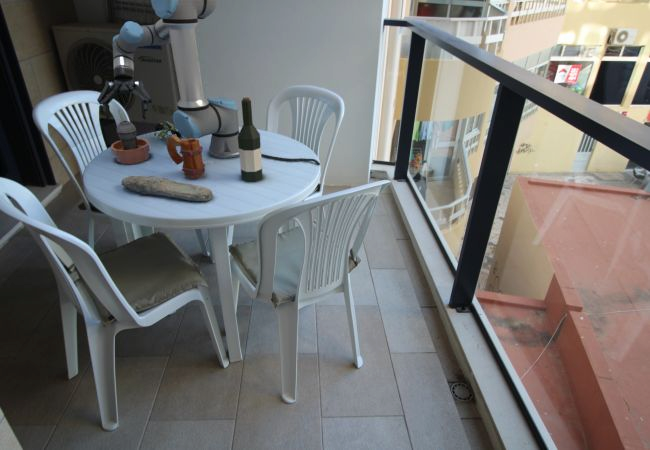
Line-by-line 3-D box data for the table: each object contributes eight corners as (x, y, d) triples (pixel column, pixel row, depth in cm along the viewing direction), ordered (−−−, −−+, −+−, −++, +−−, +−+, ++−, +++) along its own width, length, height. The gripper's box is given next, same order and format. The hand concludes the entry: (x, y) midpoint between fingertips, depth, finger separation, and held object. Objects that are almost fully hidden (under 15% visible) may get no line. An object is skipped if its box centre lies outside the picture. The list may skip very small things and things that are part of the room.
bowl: (158, 157, 165) (155, 143, 162) (126, 167, 155) (122, 153, 152) (139, 149, 172) (136, 136, 169) (108, 158, 162) (104, 144, 159)
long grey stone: (204, 210, 131) (219, 198, 140) (203, 196, 129) (218, 184, 137) (114, 190, 138) (133, 179, 146) (111, 176, 135) (131, 166, 143)
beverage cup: (136, 162, 160) (123, 113, 149) (120, 160, 161) (106, 111, 150) (146, 155, 166) (135, 108, 155) (130, 153, 167) (119, 106, 156)
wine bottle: (245, 183, 146) (237, 102, 130) (238, 175, 152) (230, 96, 136) (266, 179, 149) (261, 100, 133) (258, 171, 156) (253, 94, 140)
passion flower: (180, 149, 187) (192, 130, 182) (166, 153, 177) (178, 133, 172) (162, 133, 186) (173, 114, 181) (147, 137, 176) (159, 116, 171)
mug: (211, 173, 153) (206, 136, 145) (199, 182, 146) (193, 143, 138) (180, 167, 157) (173, 131, 148) (166, 175, 150) (158, 138, 142)
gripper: (157, 76, 169) (160, 121, 165) (94, 77, 164) (95, 124, 160) (153, 65, 162) (156, 112, 158) (87, 66, 157) (88, 114, 152)
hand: (126, 118), depth 159 cm, fingers open, 13 cm apart
